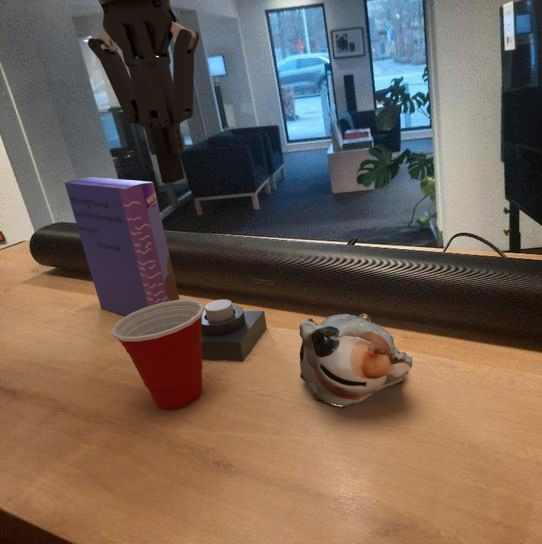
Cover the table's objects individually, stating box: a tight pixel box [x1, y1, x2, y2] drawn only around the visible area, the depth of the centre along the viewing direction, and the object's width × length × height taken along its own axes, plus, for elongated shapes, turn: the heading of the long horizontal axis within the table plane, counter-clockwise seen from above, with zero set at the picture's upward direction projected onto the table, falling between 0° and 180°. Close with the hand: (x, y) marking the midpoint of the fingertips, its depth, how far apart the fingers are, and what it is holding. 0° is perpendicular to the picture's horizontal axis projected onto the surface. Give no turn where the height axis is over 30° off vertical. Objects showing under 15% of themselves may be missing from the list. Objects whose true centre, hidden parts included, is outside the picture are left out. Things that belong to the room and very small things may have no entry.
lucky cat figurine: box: [298, 312, 413, 407], centre depth 61 cm, size 15×12×14 cm
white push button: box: [204, 298, 234, 322], centre depth 75 cm, size 4×4×2 cm
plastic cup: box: [110, 299, 205, 411], centre depth 62 cm, size 11×11×12 cm
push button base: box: [201, 304, 268, 362], centre depth 76 cm, size 12×10×5 cm
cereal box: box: [64, 176, 181, 317], centre depth 86 cm, size 17×5×24 cm, turn 58°
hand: (173, 180), depth 62 cm, fingers closed
